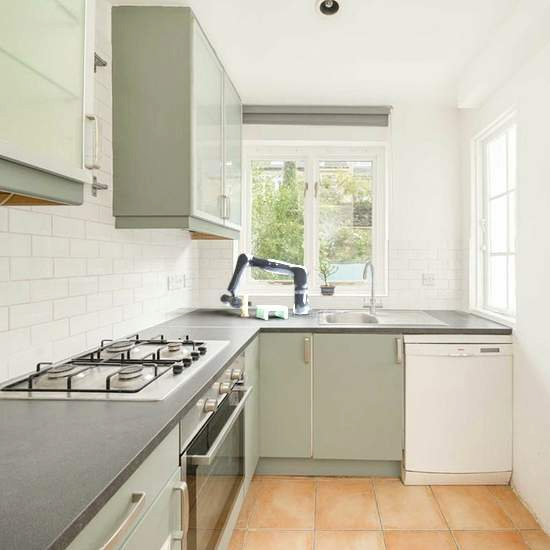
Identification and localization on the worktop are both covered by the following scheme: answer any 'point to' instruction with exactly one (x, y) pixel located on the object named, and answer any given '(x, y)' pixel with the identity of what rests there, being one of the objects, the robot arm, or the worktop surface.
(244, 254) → the robot arm
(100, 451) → the worktop surface
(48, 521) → the worktop surface
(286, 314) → the shelf
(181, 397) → the worktop surface
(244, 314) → the stick
